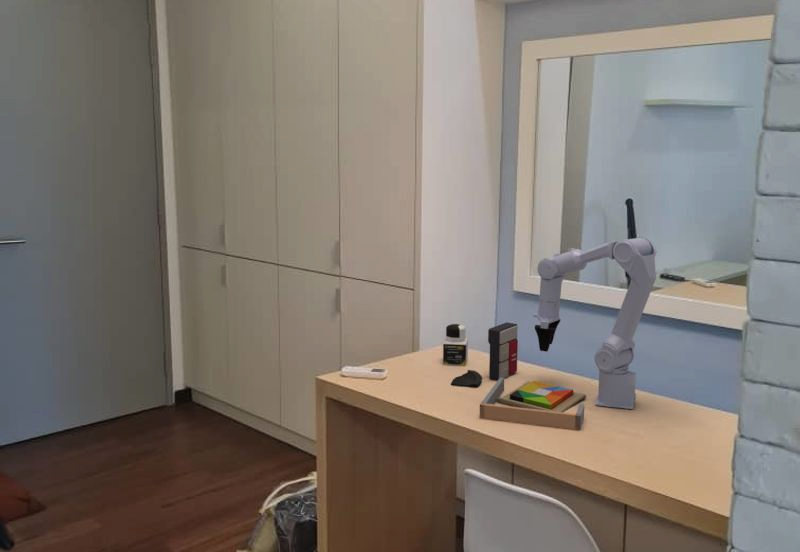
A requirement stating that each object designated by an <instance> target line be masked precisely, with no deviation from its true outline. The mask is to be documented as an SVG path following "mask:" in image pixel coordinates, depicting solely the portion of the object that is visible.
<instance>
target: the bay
mask: <svg viewBox="0 0 800 552" xmlns="http://www.w3.org/2000/svg"><path fill="white" fill-rule="evenodd" d="M504 390H505V378H499V380H498V381H496V382H495V384H494V385H493V386H492V388H491V389H490V390H489V392H488V393H487V394H486V395H485V397H484V398H483V400H482V401H481V402H480V404H479V419H484V420H491V421H500V422H509V423H510V422H511V423H517V424H518V423H519V424H526V425H534V426H542V427H551V428H558V429H559V428H560V429H566V430H567V429H568V430H575V431H581V428H582V425H583V423H584V418H585V404H584V403H583V404H582V403H578V407H577V410H576V412H575V413H572V412H565V411H564V412H555V411H546V410H537V409H529V408H520V407H516V406H512V405H508V406H507V405H501V404H496V402H497V398H499V397H501V395H502V394H503V393H504V392H505V391H504Z"/></svg>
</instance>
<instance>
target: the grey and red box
mask: <svg viewBox="0 0 800 552" xmlns="http://www.w3.org/2000/svg"><path fill="white" fill-rule="evenodd" d="M487 341H488V342H487V343H488V344H489V368H488V369H489V376H488V378H489V380H493V381H496V382H497V381H498V380H499V378H504V379H505V378H507V377H509V376H511V375H514V374H515V373H517V371H518V349H519V347H518V346H519V345H518V344H519V342H518V341H519V340H518V324H517V323H513V322H504V323H501V324H498V325H495V326H493V327H490V328H488V330H487ZM513 373H514V374H513Z"/></svg>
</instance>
